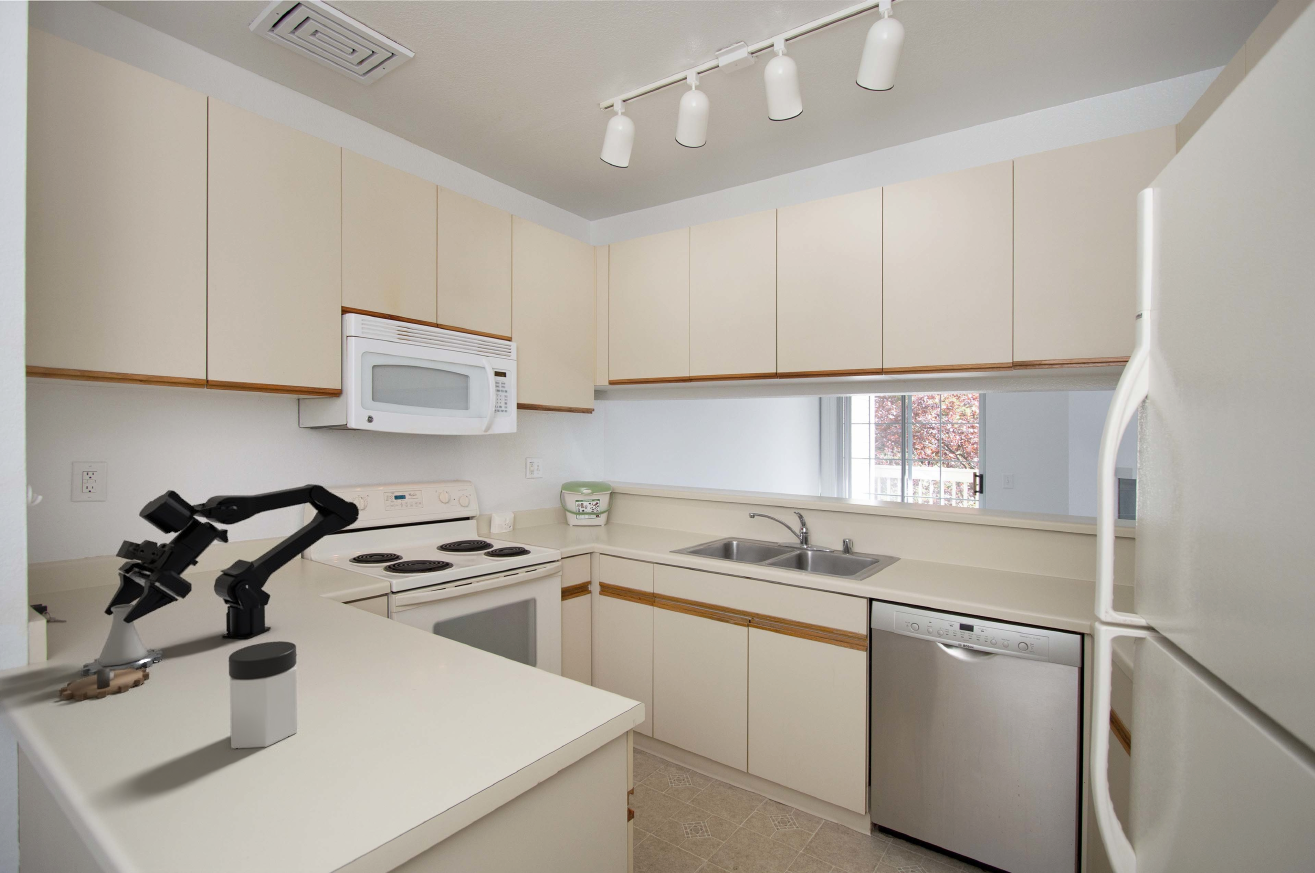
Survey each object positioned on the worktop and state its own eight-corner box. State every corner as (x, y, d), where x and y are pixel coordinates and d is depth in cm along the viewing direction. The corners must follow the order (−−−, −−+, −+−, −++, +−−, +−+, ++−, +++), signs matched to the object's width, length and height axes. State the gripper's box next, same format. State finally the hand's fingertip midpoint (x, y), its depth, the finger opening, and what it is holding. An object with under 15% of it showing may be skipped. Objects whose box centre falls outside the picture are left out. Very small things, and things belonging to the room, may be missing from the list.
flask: (146, 661, 114) (145, 607, 114) (93, 670, 110) (92, 614, 110) (150, 650, 120) (149, 598, 120) (100, 658, 116) (99, 604, 115)
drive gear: (165, 674, 110) (165, 652, 110) (100, 702, 99) (99, 677, 99) (111, 671, 112) (111, 649, 112) (41, 698, 101) (40, 673, 100)
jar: (310, 719, 93) (309, 639, 92) (283, 747, 84) (282, 659, 84) (247, 722, 92) (246, 641, 92) (213, 750, 84) (212, 662, 83)
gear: (177, 655, 119) (177, 650, 119) (118, 678, 108) (118, 673, 108) (127, 652, 121) (127, 647, 121) (64, 675, 110) (63, 670, 110)
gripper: (130, 519, 123) (56, 587, 114) (170, 527, 113) (92, 601, 104) (178, 552, 130) (112, 618, 121) (220, 562, 120) (151, 635, 111)
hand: (115, 617), depth 114 cm, fingers open, 9 cm apart
